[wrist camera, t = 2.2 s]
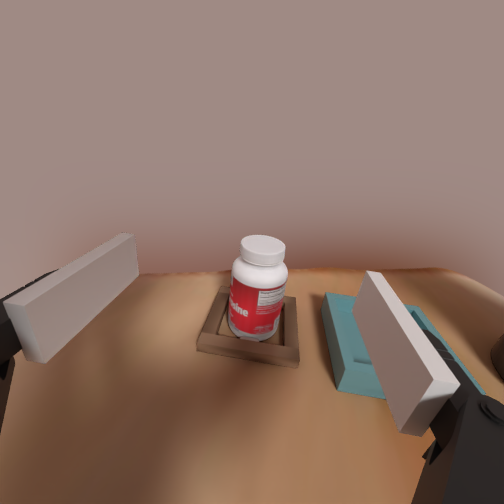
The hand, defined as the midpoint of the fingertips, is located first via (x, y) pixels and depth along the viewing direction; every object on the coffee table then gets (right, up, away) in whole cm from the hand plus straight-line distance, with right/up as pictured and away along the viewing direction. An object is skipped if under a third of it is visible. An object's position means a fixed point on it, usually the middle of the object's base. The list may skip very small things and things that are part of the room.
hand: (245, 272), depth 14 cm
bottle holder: (+1, -8, +16) cm, 18 cm away
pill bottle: (+1, -8, +16) cm, 18 cm away
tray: (+15, -10, +14) cm, 23 cm away
